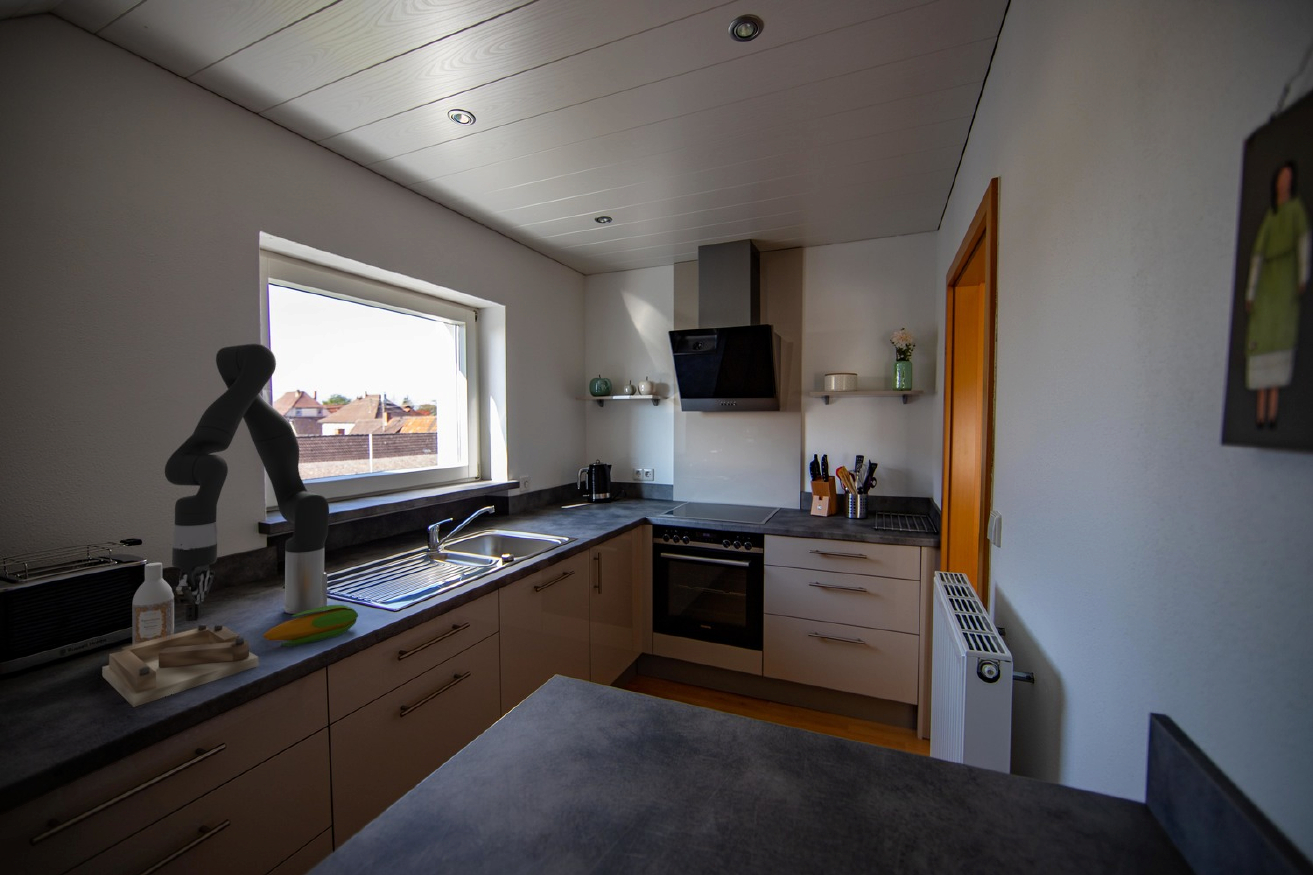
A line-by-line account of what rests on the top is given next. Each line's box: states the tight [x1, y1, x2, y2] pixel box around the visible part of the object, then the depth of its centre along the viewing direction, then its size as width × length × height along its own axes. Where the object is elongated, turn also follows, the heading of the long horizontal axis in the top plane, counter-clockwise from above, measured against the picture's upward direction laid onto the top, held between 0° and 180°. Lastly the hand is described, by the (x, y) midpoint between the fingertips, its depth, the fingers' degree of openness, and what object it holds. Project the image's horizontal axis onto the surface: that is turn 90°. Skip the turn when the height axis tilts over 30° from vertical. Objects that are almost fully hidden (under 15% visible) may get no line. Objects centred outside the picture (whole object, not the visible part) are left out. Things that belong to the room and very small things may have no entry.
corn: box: [262, 604, 359, 647], centre depth 129 cm, size 7×8×20 cm
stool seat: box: [101, 623, 259, 708], centre depth 112 cm, size 20×20×6 cm
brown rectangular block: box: [159, 636, 250, 668], centre depth 112 cm, size 15×3×4 cm, turn 108°
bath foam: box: [131, 562, 175, 645], centre depth 121 cm, size 7×7×20 cm
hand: (193, 619), depth 117 cm, fingers closed
